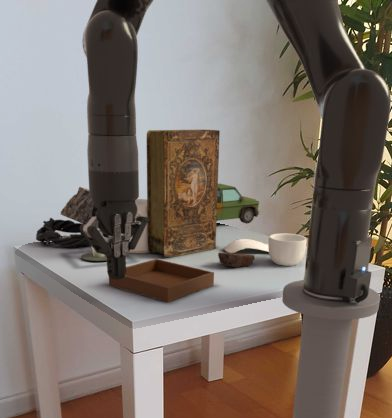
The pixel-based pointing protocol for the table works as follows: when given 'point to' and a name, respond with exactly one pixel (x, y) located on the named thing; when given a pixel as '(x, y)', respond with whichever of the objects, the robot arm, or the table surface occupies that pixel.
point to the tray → (163, 280)
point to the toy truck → (235, 205)
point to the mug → (143, 241)
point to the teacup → (286, 248)
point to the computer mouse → (245, 245)
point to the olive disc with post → (94, 256)
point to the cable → (49, 234)
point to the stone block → (79, 206)
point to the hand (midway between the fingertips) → (117, 278)
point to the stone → (236, 259)
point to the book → (182, 190)
